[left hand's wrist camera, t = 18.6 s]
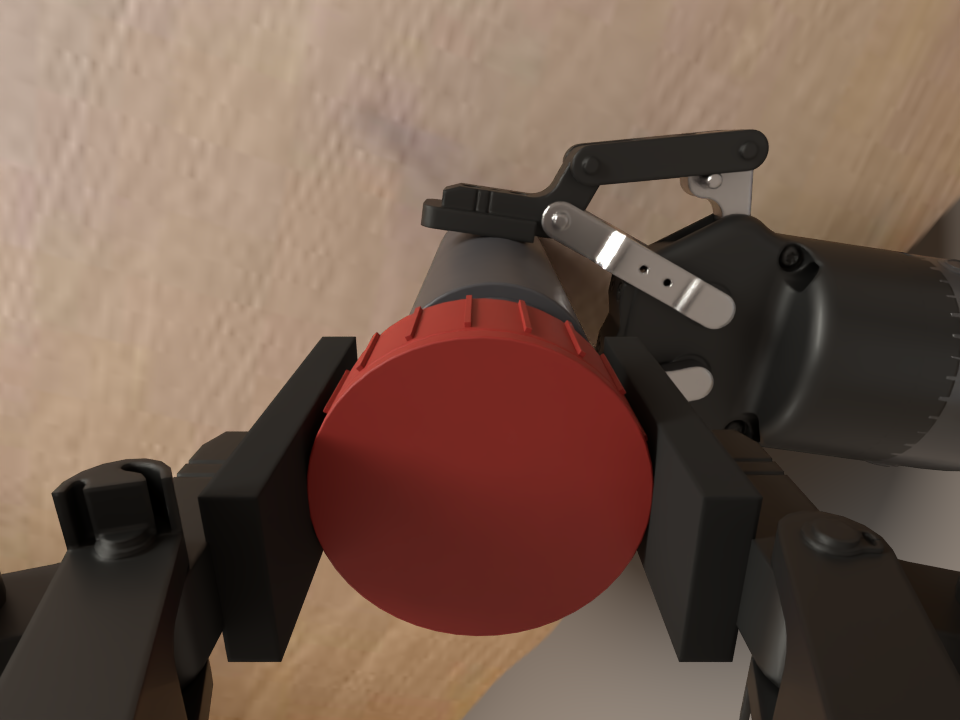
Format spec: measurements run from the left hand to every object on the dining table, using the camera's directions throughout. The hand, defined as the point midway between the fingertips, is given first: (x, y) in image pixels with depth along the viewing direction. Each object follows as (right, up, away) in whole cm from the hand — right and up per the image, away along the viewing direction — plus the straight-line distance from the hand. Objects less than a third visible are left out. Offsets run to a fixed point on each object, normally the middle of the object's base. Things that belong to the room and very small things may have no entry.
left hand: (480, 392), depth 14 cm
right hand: (-2, +3, +7) cm, 8 cm away
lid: (0, -1, -4) cm, 4 cm away
